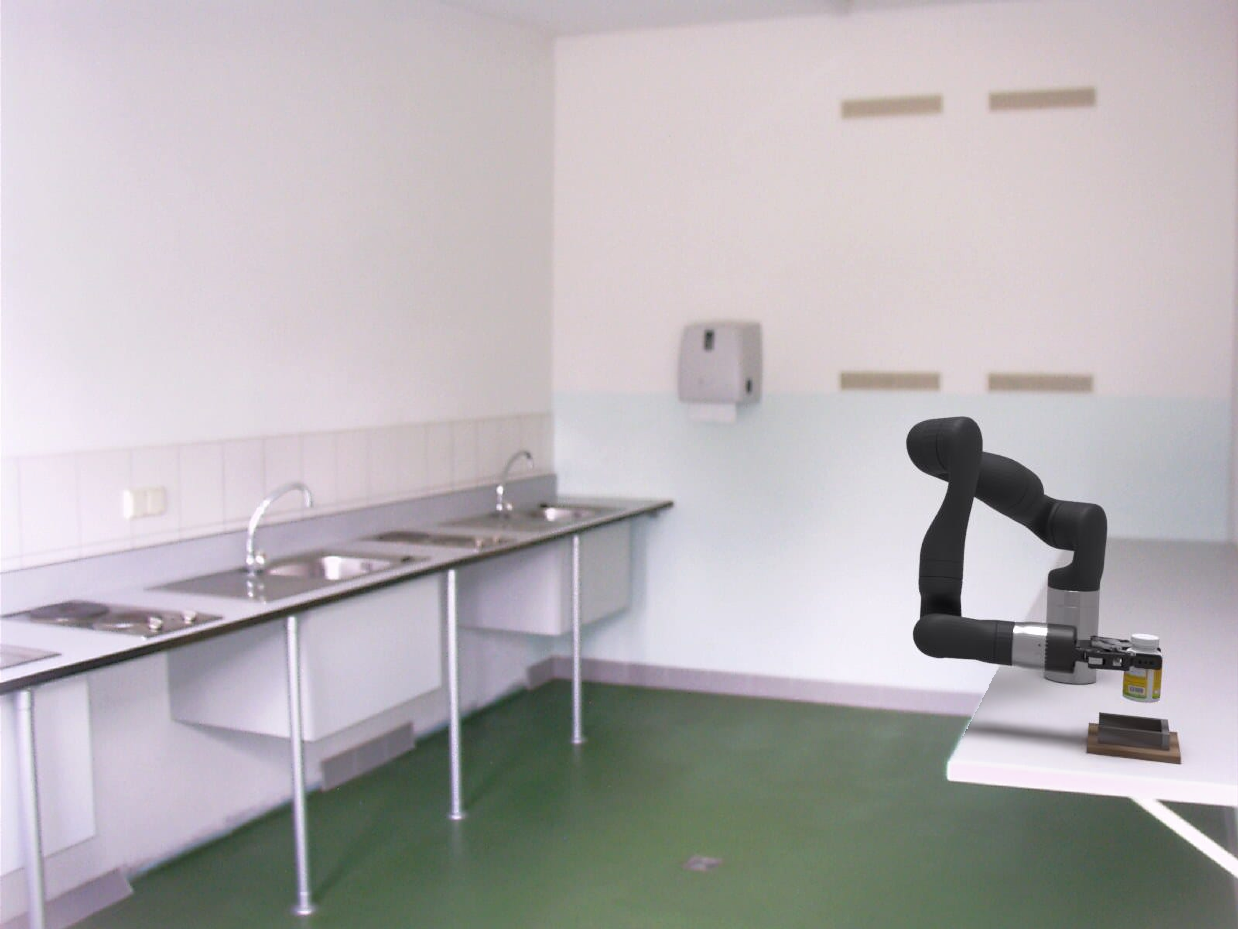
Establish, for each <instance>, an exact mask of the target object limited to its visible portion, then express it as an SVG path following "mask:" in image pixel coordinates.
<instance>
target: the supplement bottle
mask: <svg viewBox="0 0 1238 929" xmlns="http://www.w3.org/2000/svg"><path fill="white" fill-rule="evenodd" d="M1130 642H1131V645H1132V647H1131V648H1128V649H1127V650H1126V651H1133V652H1135V654H1136V653H1146V654H1156V655H1161V657H1162V666H1163V664H1164V656H1163V654H1162V651H1161V652H1159V651H1158V650H1157V648H1158V647H1159V648H1160V637H1159V636H1156V635H1153V634H1146V633H1133V634H1131V636H1130ZM1162 678H1163V667H1162V668H1161V669H1160V670H1152V669H1142V668H1135V666H1134V669H1130V670H1129V671H1123V679H1122V698H1124V699H1126V700H1129V701H1132V702H1137V703H1143V704H1144V703H1145V704H1147V703H1148V704H1153V703H1157V702H1159V701H1160V700H1161V694H1162V693H1161V692H1162Z"/></svg>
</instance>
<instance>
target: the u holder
mask: <svg viewBox="0 0 1238 929" xmlns="http://www.w3.org/2000/svg"><path fill="white" fill-rule="evenodd" d="M1086 754H1092V755H1099V756H1100V755H1101V756H1107V757H1109V756H1110V757H1117V758H1126V759H1127V758H1128V759H1135V760H1143V761H1151V762H1161V763H1168V764H1170V763H1171V764H1178V765H1181V763H1182V754H1181V750H1180V742H1179V737H1178V732H1177V731H1170V726H1169V719H1166V718H1159V717H1157V718H1156V717H1150V716H1149V717H1148V716H1139V715H1138V716H1137V715H1128V714H1127V715H1126V714H1120V713H1107V712H1100V711H1099V712H1098V723H1095V722H1088V727H1087V740H1086Z"/></svg>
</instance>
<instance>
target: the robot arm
mask: <svg viewBox="0 0 1238 929" xmlns="http://www.w3.org/2000/svg"><path fill="white" fill-rule="evenodd" d="M983 443H984V442H983V434H982V431H981V428H980V426H979V425H978V423H977V422H976V421H975V420H974V419H973V418H971V417H969V416H963V415H962V416H952V417H951V416H950V417H940V418H929V419H925V420H922V421H920V422H917V423H916V424H914V425H913V426H912V427H911V429H909V431H908V433H907V435H906V440H905V445H906V446H905V447H906V450H907V451H906V452H907V454H908V457H909V459H910V461H911V462H912V464H913V465H914V466H915V467H916V468H917V469H918V470H919V471H921V472H922V473H923V474H925V475H929V476H930V477H934V478H936V479H939V480H941V481H944V482H946V483H948V485H947V489H946V493H945V496H944V498H943V501H942V502H941V505H940V507H939V509H938V511H937V512H936V514H935V516H934V518H933V520H932V521H931V523H930V525H929V526H928V528H927V529H926V530H927V531H926V532H925V535H924V536H923V539H922V542H921V546H920V551H919V562H918V563H919V564H918V566H919V567H918V591H919V592H918V593H919V595H920V596H919V597H920V604H919V606H920V607H919V608H920V609H919V620H917V621H916V623H915V625H914V627H913V631H912V640H913V642H914V644H915V645H914V646H915V647H916V649H918V650H919V651H920V652H921V653H922V654H924V655H926V656H928V657H930V658H933V659H954V660H969V661H970V660H973V661H974V660H975V661H979V662H982V663H984V664H985V663H986V664H991V665H999V666H1009V667H1017V668H1021V669H1026V670H1030V671H1031V670H1033V671H1042V672H1043V677H1044V678H1046V679H1049V680H1050V681H1055V682H1057V683H1064V684H1065V683H1066V684H1079V685H1083V684H1084V685H1085V684H1086V685H1087V684H1091V683H1094V682H1096V681H1097V670H1107V671H1119V672H1124V671H1129V670H1130V669H1134V666H1135V668H1142V669H1152V670H1160V669H1161V668H1162V669H1163V665H1162V657H1161V655H1156V654H1146V653H1136V654H1135V652H1133V651H1126V650H1127V649H1128V648H1131V647H1132V645H1131V640H1128V639H1121V638H1114V637H1113V638H1112V637H1106V636H1105V637H1104V636H1099V622H1100V621H1099V620H1100V600H1101V599H1100V593H1101V592H1100V591H1101V581H1102V577H1103V574H1104V570H1105V556H1106V547H1107V539H1108V519H1107V513H1106V512H1105V510H1104V508H1103V507H1102V506H1101V505H1099V504H1097V503H1092V502H1091V503H1090V502H1083V501H1072V500H1065V499H1057V498H1055V497H1051V496H1050V495H1047V494H1045V489H1044V488H1045V487H1044V485H1043V482H1042V480H1041V479H1040V477H1039V476H1038V475H1037V473H1035V472H1034V471H1032V470H1031V469H1029V468H1028V467H1026V466H1025V465H1023V464H1022V463H1021V462H1019V461H1017V460H1014V459H1013V458H1011V457H1008V456H1004V455H1001V454H998V453H991V452H988V451H983V449H984V448H983V446H984V444H983ZM975 498H976V499H977V500H979V501H980V502H982V503H984V504H985V505H987V506H988V507H989V508H991V509H992V510H994V511H996V512H997V513H1000V514H1001V515H1003V516H1005V517H1007V518H1009V519H1011V520H1012V521H1014V522H1016V523H1018V524H1020V525H1021V526H1023V527H1025V528H1027V529H1028V530H1029V531H1030V532H1031V533H1033V534H1034V535H1035V536H1036V537H1037V538H1038V539H1040V540H1041V541H1042V542H1043V543H1044V544H1045V545H1048V546H1049V547H1051V548H1053V549H1056V550H1062V551H1067V552H1068V551H1070V552H1073V555H1072V556H1073V557H1072V560H1071V562H1070V563H1069V564H1068V565H1065V566H1063V567H1058V568H1054V569H1051V570H1050V571H1049V572H1048V574H1047V589H1046V590H1047V591H1046V592H1047V593H1046V616H1045V617H1046V618H1045V622H1041V621H1040V622H1038V621H1013V620H1012V621H1011V620H1002V619H978V618H977V619H976V618H971V617H964V616H963V614H962V612H963V611H962V590H963V584H964V583H963V579H964V566H965V550H966V548H965V546H966V540H967V531H968V527H969V521H970V517H971V512H972V508H973V504H974V500H975ZM1157 650H1158V651H1159V652H1161V653H1162V649H1161V647H1160V646H1159V647H1158V648H1157Z"/></svg>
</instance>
